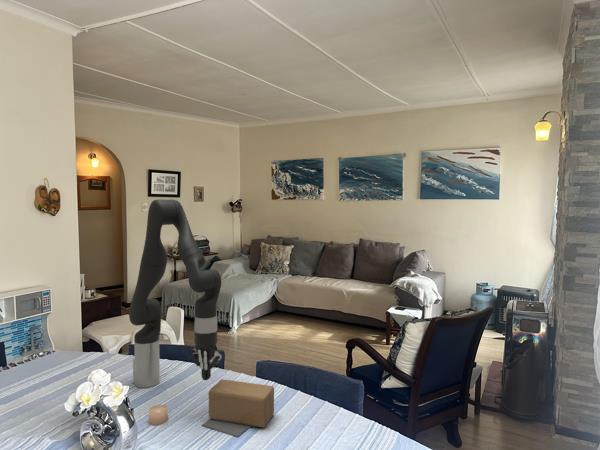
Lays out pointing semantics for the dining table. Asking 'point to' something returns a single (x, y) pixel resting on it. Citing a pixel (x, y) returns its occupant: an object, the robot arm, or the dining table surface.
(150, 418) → the tan rounded lump
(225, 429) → the mat
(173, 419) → the dining table surface
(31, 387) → the dining table surface
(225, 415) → the block
